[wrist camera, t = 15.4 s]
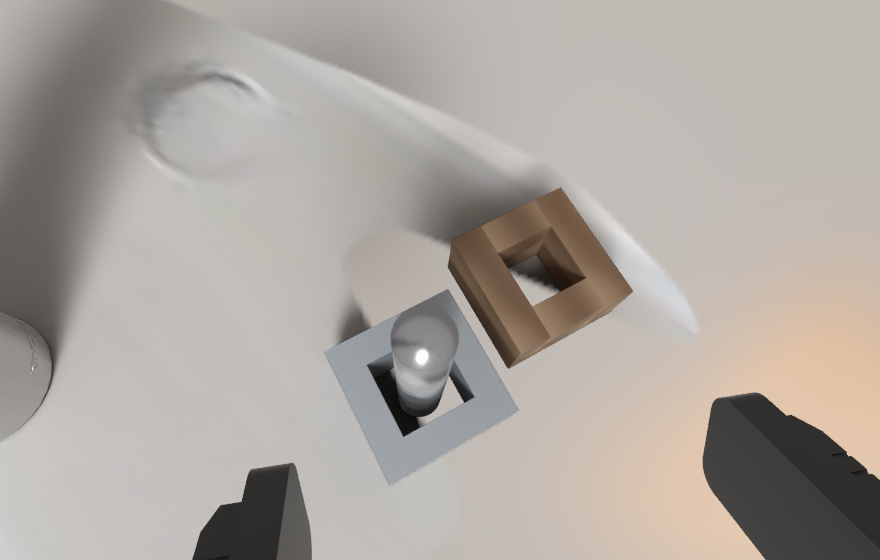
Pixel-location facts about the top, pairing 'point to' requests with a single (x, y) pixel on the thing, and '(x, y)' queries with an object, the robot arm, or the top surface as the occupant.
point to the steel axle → (422, 357)
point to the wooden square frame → (564, 257)
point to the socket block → (423, 446)
